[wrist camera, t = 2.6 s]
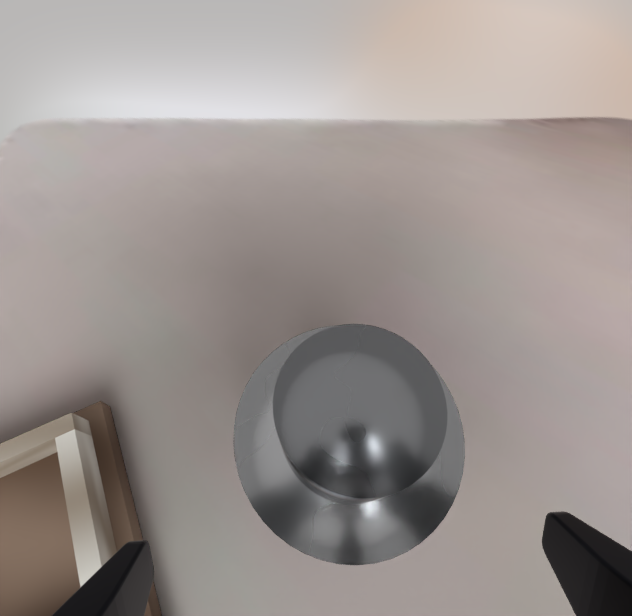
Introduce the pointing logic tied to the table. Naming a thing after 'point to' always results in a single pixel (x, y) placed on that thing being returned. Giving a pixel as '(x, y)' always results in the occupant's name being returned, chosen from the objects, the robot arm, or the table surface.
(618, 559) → the robot arm
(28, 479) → the socket board
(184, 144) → the table surface
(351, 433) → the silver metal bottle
